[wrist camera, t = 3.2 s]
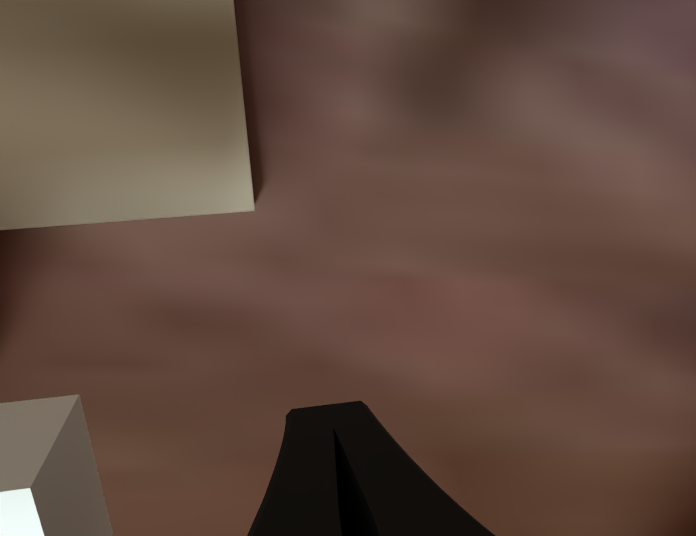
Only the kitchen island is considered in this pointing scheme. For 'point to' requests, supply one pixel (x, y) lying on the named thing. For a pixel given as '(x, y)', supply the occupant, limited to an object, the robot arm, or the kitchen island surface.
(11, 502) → the white long bar
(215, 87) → the pad
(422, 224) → the kitchen island surface
